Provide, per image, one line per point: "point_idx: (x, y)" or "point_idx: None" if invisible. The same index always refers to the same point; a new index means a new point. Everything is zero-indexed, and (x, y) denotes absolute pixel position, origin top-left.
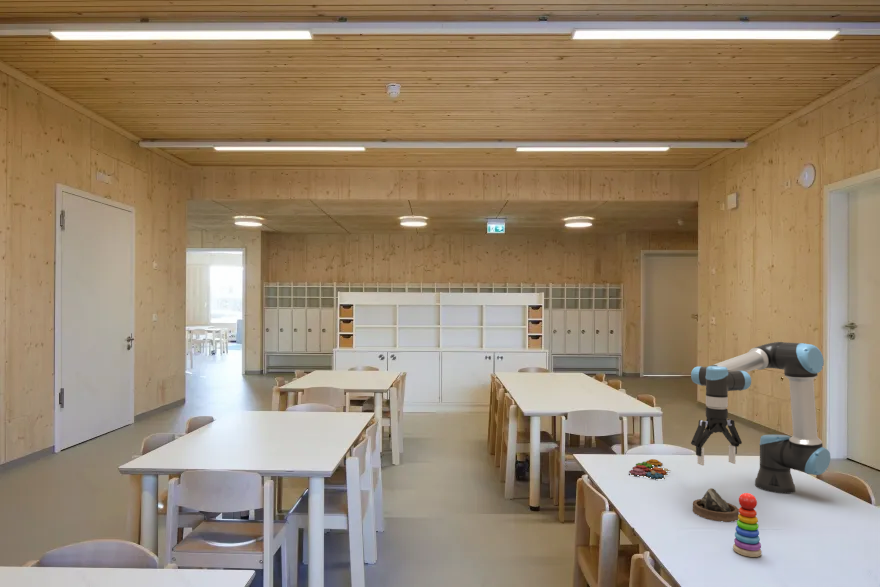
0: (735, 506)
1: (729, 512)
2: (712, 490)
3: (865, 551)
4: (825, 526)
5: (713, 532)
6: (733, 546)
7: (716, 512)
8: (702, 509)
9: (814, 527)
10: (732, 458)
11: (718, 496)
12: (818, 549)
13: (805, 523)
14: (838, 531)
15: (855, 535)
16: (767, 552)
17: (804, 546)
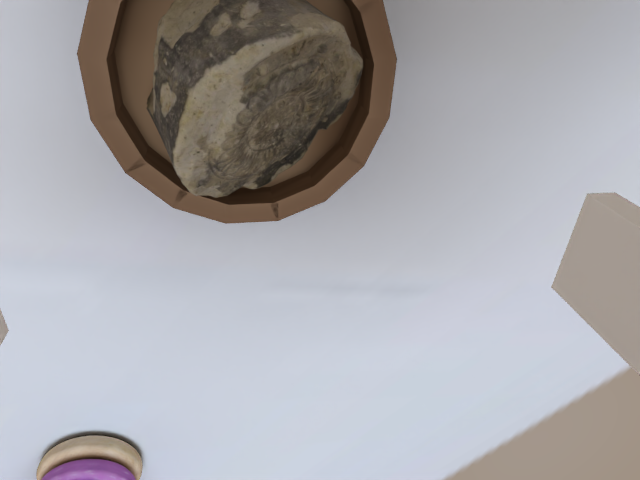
0: (385, 117)
1: (259, 209)
2: (269, 57)
3: (501, 433)
4: None
5: (55, 312)
6: (38, 468)
7: (169, 202)
8: (101, 134)
9: None
10: (609, 314)
11: (295, 90)
12: (378, 429)
13: None
14: None
15: None
16: (177, 454)
17: (354, 414)
